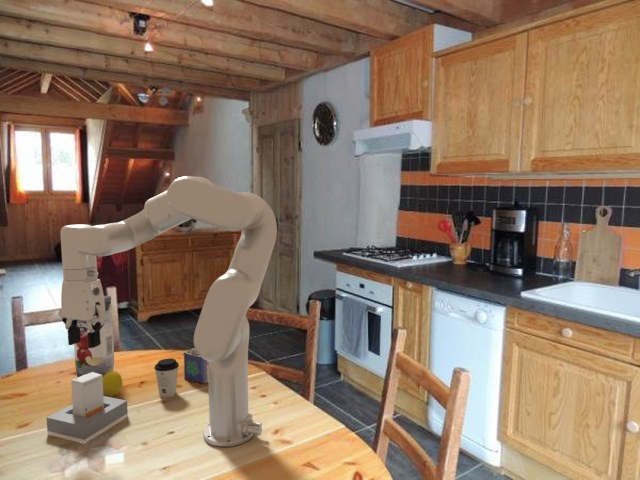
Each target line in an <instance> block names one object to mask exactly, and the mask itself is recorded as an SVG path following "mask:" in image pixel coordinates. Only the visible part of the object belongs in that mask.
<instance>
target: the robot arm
mask: <svg viewBox="0 0 640 480" xmlns="http://www.w3.org/2000/svg"><path fill="white" fill-rule="evenodd" d="M190 220H195V221H199V222H201V223H203V224H206V225H210V226H212V227H216V228H219V229H222V230H225V231H228V232H229V231H230V232H240V231H241V235H240V238H239V239H238V242H237V244H236V246H235V249H234V252H233V256H232V259H231V261H230V264H229V267H228V269H227V270H226V272H225V273H223V274H222V275H221V276H219V277H217V279H215V281H214V282H213V283H212V284H211V285H210V288H209V290H208V292H207V294H206V297H205V299H204V304H203V305H202V308H201V312H200V314H199V317H198V321H197V324H196V327H195V330H194V335H193V345H194V348H195V349H196V351H197V353H198V354H199V356H200V357H202V358H203V359H205V360H207V372H208V382H207V384H208V413H209V415H208V416H209V417H208V419H209V424H208V423H207V425H206V426H205V427H204V429H203V433H202V435H203V437H202V438H203V439H204V441H205V442H206V443H208V444H209V445H212V446H214V447H224V448H226V447H228V448H229V447H235V446H238V445H242V444H244V443H246V442H248V441H249V440H250V439H252V438H253V437H254V436H259V437H260V436H261V435H262V433H263V432H262V431H263V429H262V426H263V424H262V422H258V421H254V420H253V414H252V413H249V373H248V372H249V369H248V368H249V367H248V366H249V364H248V363H249V362H248V361H249V360H248V359H249V344H250V343H249V342H250V324H249V320H248V318H247V315H246V314H247V313H248V310H249V308H250V307H252V305H254V304H255V302H256V301H257V300H258V297H259V294H260V291H261V288H262V285H263V281H264V278H265V275H266V273H267V271H268V270H267V269H268V266H269V264H270V263H269V262H270V259H271V257H272V254H273V251H274V247H275V244H276V240H277V234H278V233H277V232H278V231H277V230H278V229H277V228H278V225H277V220H276V216H275V213H274V211H273V210H272V208H271V206H270V205H269V204H268V203H267V202H266V201H265V200H264V199H263V198H262V197H261V196H259V195H257V194H256V193H253V192H248V191H241V192H236V191H232V190H230V189H229V190H228V189H226V188H222V187H218V186H216V185H214V183H213V182H212V181H210V180H209V179H208V178H205V177H202V176H192V175H184V176H181V177H178V178H176V179H174V180H173V181H172V182H171V183H170V185H169V186H168V187H167V189H166V190H165V191H163V192H161V193H160V194H157V195H155V196H153V197H151V198H149V199H147V200H146V201H145V203H144V206H143V209H142V210H141V211H139V212H138V213H136V214H134V215H132V216H130V217H128V218H126V219H124V220H121V221H119V222H111V223H106V224H97V225H91V224H85V223H84V224H82V223H81V224H69V225H64V226H62V227H61V229H60V247H61V249H60V250H61V261H62V262H61V263H62V264H61V265H62V278H63V279H62V284H61V297H60V298H61V299H60V301H61V302H60V303H61V306H60V307H61V308H60V309H59V311H58V313H57V314H58V316H59V318H60V319H61V320H62V322H63V324H64V325H65V329H66V330H67V341H68V342H67V343H68V346H74V344H76V343H78V342H80V341H81V337H80V327H79V326H78V322H79V320H80V321H86V322H87V325H88V328H89V331H90V332H89V333H88V347H89V348H93V347H96V346H98V345H100V330H101V329H102V326H103V325H104V323H105V322H106V321H107V320H108V316H107V315H106V313H105V301H104V296H105V294H104V291H103V286H102V283H101V279H100V278H99V279H98V276H99V271H98V266H97V264H98V263H97V260H98V259H97V257H106V256H110V255H111V256H112V255H114V254H119V253H122V252H123V253H124V252H127V251H129V250H131V249H134V248H136V247H138V246H140V245H143V244H145V243H147V242H149V241H150V240H152V239H154V238H156V237H158V236H159V235H162V234H164V233H166V232H167V231H169V230H172V229H173V228H174V229H175V227H177V226H179V225H181V224H184V223H185V222H187V221H190ZM93 318H94V319H93ZM73 320H74V321H73ZM93 321H94V322H95V325H94V326H93V323H92V322H93ZM77 326H78V327H77Z"/></svg>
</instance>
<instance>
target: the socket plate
mask: <svg viewBox="0 0 640 480" xmlns="http://www.w3.org/2000/svg"><path fill="white" fill-rule="evenodd" d="M103 400H104V409H103V410H101V411H99V412H97V413H95V414H94V415H92V416H90V417H88V418H85V417H81V416H76V415H73V403H72V404H70V405H67V406H66V407H63V408H62V409H60V410H58V411H55V412H54V413H52V414H51V415H49V416H46V417H45V418H46V429H47V435H48V436H52V437H56V438H60V439H63V440H67V441H71V442H76V443H79V442H81V443H80V444H83V443H85V442H87V441H88V440H90V441H92V440H93V439H95V438H96V437H99V435H101V434H103V433H104V432H106V431H108V430H109V429H110V428H113V427H114V426H115V425H117V424H119V423H120V422H122V421H123V420H125V419H127V418H128V417H129V412H128V400H126V399H122V398H121V399H120V398H116V397H111V396H107V395H103ZM91 439H92V440H91ZM88 442H89V441H88ZM88 442H87V443H88ZM85 444H86V443H85Z"/></svg>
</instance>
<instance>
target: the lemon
mask: <svg viewBox="0 0 640 480" xmlns="http://www.w3.org/2000/svg"><path fill="white" fill-rule="evenodd" d="M122 388H123V379H122V375H121V374H120V373H119V372H118V371H115V370H114V369H113V370H111V371H110V372H108V373H106V374H105V375H104V377H103V394H105V396H108V397H111V398H115V397H114V396H115V395H117V394H119V392H121V390H122Z"/></svg>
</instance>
